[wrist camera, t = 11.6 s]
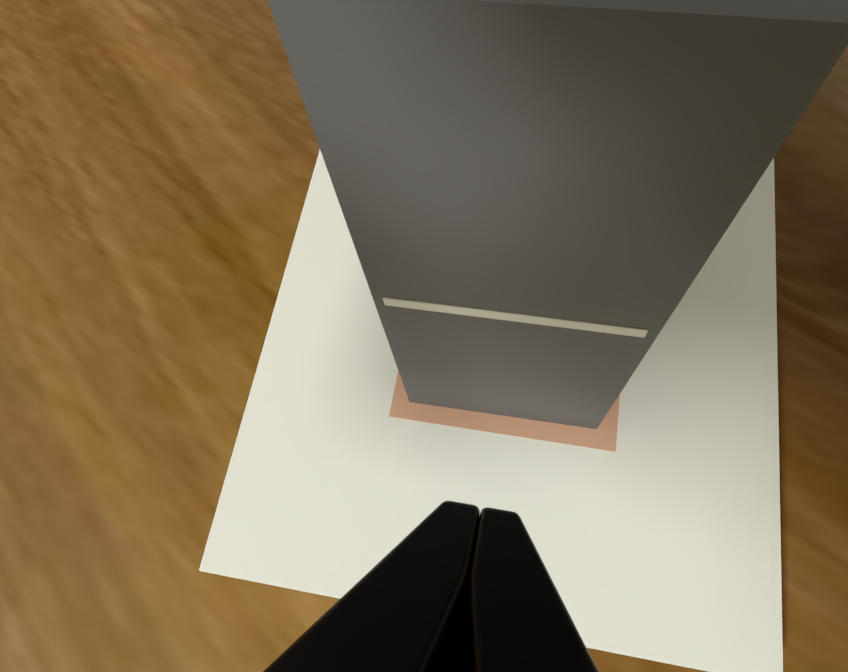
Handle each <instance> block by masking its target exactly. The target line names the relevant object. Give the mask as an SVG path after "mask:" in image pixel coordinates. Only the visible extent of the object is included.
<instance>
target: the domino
mask: <svg viewBox="0 0 848 672" xmlns="http://www.w3.org/2000/svg"><path fill="white" fill-rule="evenodd" d="M268 3H269V6H270V9H271V12H272V15H273V17H274V20H275V23H276V26H277V29H278V32H279V34H280V37H281V40H282V43H283V46H284V49H285V51H286V54H287V57H288V60H289V63H290V66H291V68H292V71H293V74H294V77H295V80H296V82H297V85H298V88H299V91H300V94H301V97H302V99H303V102H304V105H305V108H306V111H307V114H308V116H309V119H310V122H311V125H312V128H313V131H314V133H315V136H316V139H317V142H318V145H319V147H320V150H321V153H322V156H323V159H324V162H325V164H326V167H327V170H328V173H329V176H330V179H331V181H332V184H333V187H334V190H335V193H336V196H337V198H338V201H339V204H340V207H341V210H342V213H343V215H344V218H345V221H346V224H347V227H348V229H349V232H350V235H351V238H352V241H353V244H354V246H355V249H356V252H357V255H358V258H359V261H360V263H361V266H362V269H363V272H364V275H365V278H366V280H367V283H368V286H369V289H370V292H371V295H372V297H373V300H374V303H375V306H376V309H377V311H378V314H379V317H380V320H381V323H382V326H383V328H384V331H385V334H386V337H387V340H388V343H389V345H390V348H391V351H392V354H393V357H394V360H395V362H396V365H397V368H398V371H399V374H400V376H401V379H402V382H403V385H404V388H405V391H406V393H407V396H408V399H409V402H413V403H420V404H427V405H434V406H440V407H447V408H454V409H461V410H468V411H475V412H482V413H489V414H495V415H502V416H509V417H516V418H523V419H530V420H537V421H544V422H551V423H557V424H564V425H571V426H578V427H585V428H592V429H597V428H598V426H599V425H600V423H601V422H602V420H603V419H604V417H605V416H606V414H607V413H608V411H609V410H610V408H611V407H612V405H613V404H614V402H615V400H616V399H617V397H618V396H619V394H620V393H621V391H622V390H623V388H624V387H625V385H626V384H627V382H628V381H629V379H630V377H631V376H632V374H633V373H634V371H635V370H636V368H637V367H638V365H639V364H640V362H641V361H642V359H643V358H644V356H645V354H646V353H647V351H648V350H649V348H650V347H651V345H652V344H653V342H654V341H655V339H656V338H657V336H658V335H659V333H660V331H661V330H662V328H663V327H664V325H665V324H666V322H667V321H668V319H669V318H670V316H671V315H672V313H673V312H674V310H675V308H676V307H677V305H678V304H679V302H680V301H681V299H682V298H683V296H684V295H685V293H686V292H687V290H688V289H689V287H690V286H691V284H692V282H693V281H694V279H695V278H696V276H697V275H698V273H699V272H700V270H701V269H702V267H703V266H704V264H705V263H706V261H707V259H708V258H709V256H710V255H711V253H712V252H713V250H714V249H715V247H716V246H717V244H718V243H719V241H720V240H721V238H722V236H723V235H724V233H725V232H726V230H727V229H728V227H729V226H730V224H731V223H732V221H733V220H734V218H735V217H736V215H737V213H738V212H739V210H740V209H741V207H742V206H743V204H744V203H745V201H746V200H747V198H748V197H749V195H750V194H751V192H752V191H753V189H754V187H755V186H756V184H757V183H758V181H759V180H760V178H761V177H762V175H763V174H764V172H765V171H766V169H767V168H768V166H769V164H770V163H771V161H772V160H773V158H774V157H775V155H776V154H777V152H778V151H779V149H780V148H781V146H782V145H783V143H784V141H785V140H786V138H787V137H788V135H789V134H790V132H791V131H792V129H793V128H794V126H795V125H796V123H797V122H798V120H799V118H800V117H801V115H802V114H803V112H804V111H805V109H806V108H807V106H808V105H809V103H810V102H811V100H812V99H813V97H814V95H815V94H816V92H817V91H818V89H819V88H820V86H821V85H822V83H823V82H824V80H825V79H826V77H827V76H828V74H829V73H830V71H831V69H832V68H833V66H834V65H835V63H836V62H837V60H838V59H839V57H840V56H841V54H842V53H843V51H844V50H845V48H846V46H847V45H848V0H268Z"/></svg>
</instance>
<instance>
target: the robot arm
mask: <svg viewBox="0 0 848 672" xmlns="http://www.w3.org/2000/svg"><path fill="white" fill-rule="evenodd" d="M263 672H598V670H597V668H596V666H595V664H594V662H593V660H592V658H591V656H590V654H589V652H588V650H587V648H586V646H585V644H584V642H583V640H582V638H581V636H580V634H579V632H578V630H577V628H576V626H575V624H574V622H573V620H572V618H571V616H570V614H569V613H568V611H567V609H566V607H565V605H564V603H563V601H562V599H561V597H560V595H559V593H558V591H557V589H556V587H555V585H554V583H553V581H552V579H551V577H550V575H549V573H548V571H547V569H546V567H545V565H544V563H543V561H542V559H541V557H540V555H539V553H538V551H537V549H536V547H535V545H534V543H533V541H532V539H531V537H530V535H529V533H528V532H527V530H526V528H525V526H524V524H523V522H522V520H521V518H520V516H519V515H518V514H517V513H516V512H512V511H507V510H501V509H495V508H489V507H485V508H483V509H482V510H481V513H480V510H479V508H478V507H477V506H476V505H471V504H466V503H460V502H454V501H444V502H442V503H441V504H440V505H439V506H438V507H437V508H436V509H435V510H434V511H433V512H432V513H431V514H429V515H428V516H427V517H426V518H425V519H424V520H423V521H422V522H421V523H420V524H419V525H418V526H417V527H416V528H415V529H414V530H413V531H411V532H410V533H409V534H408V535H407V536H406V537H405V538H404V539H403V540H402V541H401V542H400V543H399V544H398V545H397V546H396V547H395V548H394V549H392V550H391V551H390V552H389V553H388V554H387V555H386V556H385V557H384V558H383V559H382V560H381V561H380V562H379V563H378V564H377V565H376V566H374V567H373V568H372V569H371V570H370V571H369V572H368V573H367V574H366V575H365V576H364V577H363V578H362V579H361V580H360V581H359V582H358V583H356V584H355V585H354V586H353V587H352V588H351V589H350V590H349V591H348V592H347V593H346V594H345V595H344V596H343V597H342V598H341V599H340V600H339V601H337V602H336V603H335V604H334V605H333V606H332V607H331V608H330V609H329V610H328V611H327V612H326V613H325V614H324V615H323V616H322V617H321V618H319V619H318V620H317V621H316V622H315V623H314V624H313V625H312V626H311V627H310V628H309V629H308V630H307V631H306V632H305V633H304V634H303V635H301V636H300V637H299V638H298V639H297V640H296V641H295V642H294V643H293V644H292V645H291V646H290V647H289V648H288V649H287V650H286V651H285V652H283V653H282V654H281V655H280V656H279V657H278V658H277V659H276V660H275V661H274V662H273V663H272V664H271V665H270V666H269V667H268V668H267V669H265V670H264V671H263Z"/></svg>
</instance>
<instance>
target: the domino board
mask: <svg viewBox="0 0 848 672" xmlns="http://www.w3.org/2000/svg"><path fill="white" fill-rule="evenodd" d="M444 501H454V502H460V503H466V504H471V505H476V506H477V507H478V508H479V510H480V513H481V510H482V509H483V508H485V507H489V508H495V509H501V510H507V511H512V512H516V513H517V514H518V515H519V516H520V518H521V520H522V522H523V524H524V526H525V528H526V530H527V532H528V533H529V535H530V537H531V539H532V541H533V543H534V545H535V547H536V549H537V551H538V553H539V555H540V557H541V559H542V561H543V563H544V565H545V567H546V569H547V571H548V573H549V575H550V577H551V579H552V581H553V583H554V585H555V587H556V589H557V591H558V593H559V595H560V597H561V599H562V601H563V603H564V605H565V607H566V609H567V611H568V613H569V614H570V616H571V618H572V620H573V622H574V624H575V626H576V628H577V630H578V632H579V634H580V636H581V638H582V640H583V642H584V644H585V646H586V647H587V648H592V649H597V650H602V651H607V652H612V653H617V654H622V655H627V656H632V657H637V658H643V659H648V660H653V661H658V662H663V663H668V664H673V665H678V666H683V667H688V668H693V669H698V670H703V671H708V672H783V642H782V585H781V527H780V470H779V413H778V356H777V299H776V241H775V184H774V158H773V160H772V161H771V163H770V164H769V166H768V168H767V169H766V171H765V172H764V174H763V175H762V177H761V178H760V180H759V181H758V183H757V184H756V186H755V187H754V189H753V191H752V192H751V194H750V195H749V197H748V198H747V200H746V201H745V203H744V204H743V206H742V207H741V209H740V210H739V212H738V213H737V215H736V217H735V218H734V220H733V221H732V223H731V224H730V226H729V227H728V229H727V230H726V232H725V233H724V235H723V236H722V238H721V240H720V241H719V243H718V244H717V246H716V247H715V249H714V250H713V252H712V253H711V255H710V256H709V258H708V259H707V261H706V263H705V264H704V266H703V267H702V269H701V270H700V272H699V273H698V275H697V276H696V278H695V279H694V281H693V282H692V284H691V286H690V287H689V289H688V290H687V292H686V293H685V295H684V296H683V298H682V299H681V301H680V302H679V304H678V305H677V307H676V308H675V310H674V312H673V313H672V315H671V316H670V318H669V319H668V321H667V322H666V324H665V325H664V327H663V328H662V330H661V331H660V333H659V335H658V336H657V338H656V339H655V341H654V342H653V344H652V345H651V347H650V348H649V350H648V351H647V353H646V354H645V356H644V358H643V359H642V361H641V362H640V364H639V365H638V367H637V368H636V370H635V371H634V373H633V374H632V376H631V377H630V379H629V381H628V382H627V384H626V385H625V387H624V388H623V390H622V391H621V393H620V394H619V396H618V397H617V399H616V400H615V402H614V404H613V405H612V407H611V408H610V410H609V411H608V413H607V414H606V416H605V417H604V419H603V420H602V422H601V423H600V425H599V426H598V428H597V429H592V428H585V427H578V426H571V425H564V424H557V423H551V422H544V421H537V420H530V419H523V418H516V417H509V416H502V415H495V414H489V413H482V412H475V411H468V410H461V409H454V408H447V407H440V406H434V405H427V404H420V403H413V402H409V399H408V396H407V393H406V391H405V388H404V385H403V382H402V379H401V376H400V374H399V371H398V368H397V365H396V362H395V360H394V357H393V354H392V351H391V348H390V345H389V343H388V340H387V337H386V334H385V331H384V328H383V326H382V323H381V320H380V317H379V314H378V311H377V309H376V306H375V303H374V300H373V297H372V295H371V292H370V289H369V286H368V283H367V280H366V278H365V275H364V272H363V269H362V266H361V263H360V261H359V258H358V255H357V252H356V249H355V246H354V244H353V241H352V238H351V235H350V232H349V229H348V227H347V224H346V221H345V218H344V215H343V213H342V210H341V207H340V204H339V201H338V198H337V196H336V193H335V190H334V187H333V184H332V181H331V179H330V176H329V173H328V170H327V167H326V164H325V162H324V159H323V156H322V153H321V150H320V151H319V155H318V158H317V162H316V165H315V168H314V172H313V175H312V179H311V182H310V186H309V189H308V193H307V196H306V200H305V203H304V207H303V210H302V214H301V217H300V221H299V224H298V228H297V231H296V235H295V238H294V241H293V245H292V248H291V252H290V255H289V259H288V262H287V266H286V269H285V273H284V276H283V280H282V283H281V287H280V290H279V294H278V297H277V301H276V304H275V308H274V311H273V314H272V318H271V321H270V325H269V328H268V332H267V335H266V339H265V342H264V346H263V349H262V353H261V356H260V360H259V363H258V367H257V370H256V374H255V377H254V381H253V384H252V387H251V391H250V394H249V398H248V401H247V405H246V408H245V412H244V415H243V419H242V422H241V426H240V429H239V433H238V436H237V440H236V443H235V447H234V450H233V454H232V457H231V460H230V464H229V467H228V471H227V474H226V478H225V481H224V485H223V488H222V492H221V495H220V499H219V502H218V506H217V509H216V513H215V516H214V520H213V523H212V527H211V530H210V533H209V537H208V540H207V544H206V547H205V551H204V554H203V558H202V561H201V565H200V568H199V571H203V572H208V573H213V574H218V575H223V576H228V577H233V578H238V579H243V580H249V581H254V582H259V583H264V584H269V585H274V586H279V587H284V588H289V589H294V590H299V591H304V592H309V593H314V594H319V595H324V596H329V597H334V598H339V599H341V598H342V597H343V596H344V595H345V594H346V593H347V592H348V591H349V590H350V589H351V588H352V587H353V586H354V585H355V584H356V583H358V582H359V581H360V580H361V579H362V578H363V577H364V576H365V575H366V574H367V573H368V572H369V571H370V570H371V569H372V568H373V567H374V566H376V565H377V564H378V563H379V562H380V561H381V560H382V559H383V558H384V557H385V556H386V555H387V554H388V553H389V552H390V551H391V550H392V549H394V548H395V547H396V546H397V545H398V544H399V543H400V542H401V541H402V540H403V539H404V538H405V537H406V536H407V535H408V534H409V533H410V532H411V531H413V530H414V529H415V528H416V527H417V526H418V525H419V524H420V523H421V522H422V521H423V520H424V519H425V518H426V517H427V516H428V515H429V514H431V513H432V512H433V511H434V510H435V509H436V508H437V507H438V506H439V505H440V504H441V503H442V502H444Z"/></svg>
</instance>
